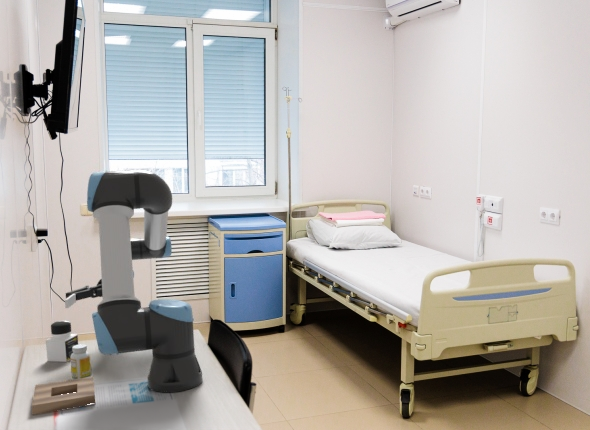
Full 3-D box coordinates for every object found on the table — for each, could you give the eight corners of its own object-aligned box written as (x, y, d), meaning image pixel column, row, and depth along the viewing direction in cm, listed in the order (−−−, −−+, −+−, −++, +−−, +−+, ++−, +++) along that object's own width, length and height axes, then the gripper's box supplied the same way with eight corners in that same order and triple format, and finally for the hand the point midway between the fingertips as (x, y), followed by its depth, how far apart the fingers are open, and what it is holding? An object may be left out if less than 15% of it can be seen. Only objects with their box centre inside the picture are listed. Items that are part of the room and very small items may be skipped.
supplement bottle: (69, 382, 171) (67, 349, 170) (74, 375, 176) (72, 344, 176) (88, 380, 172) (86, 348, 171) (93, 374, 177) (91, 342, 176)
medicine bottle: (67, 362, 189) (64, 325, 188) (46, 361, 190) (44, 325, 189) (79, 355, 196) (76, 319, 195) (59, 354, 197) (57, 319, 196)
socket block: (95, 404, 154) (94, 395, 154) (32, 415, 149) (31, 405, 149) (93, 384, 168) (93, 376, 168) (36, 393, 163) (35, 385, 163)
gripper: (148, 295, 202) (129, 314, 181) (75, 296, 203) (49, 316, 182) (147, 273, 201) (128, 291, 180) (74, 275, 202) (47, 292, 181)
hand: (88, 303), depth 181 cm, fingers open, 13 cm apart
